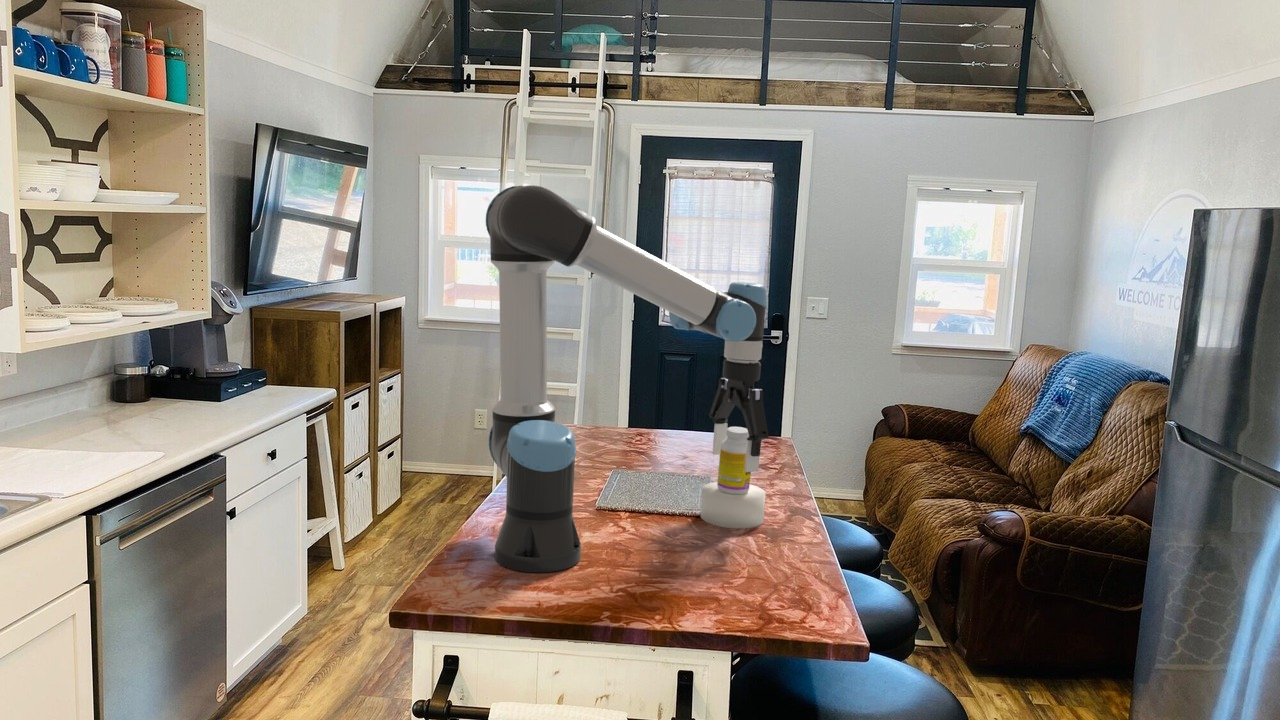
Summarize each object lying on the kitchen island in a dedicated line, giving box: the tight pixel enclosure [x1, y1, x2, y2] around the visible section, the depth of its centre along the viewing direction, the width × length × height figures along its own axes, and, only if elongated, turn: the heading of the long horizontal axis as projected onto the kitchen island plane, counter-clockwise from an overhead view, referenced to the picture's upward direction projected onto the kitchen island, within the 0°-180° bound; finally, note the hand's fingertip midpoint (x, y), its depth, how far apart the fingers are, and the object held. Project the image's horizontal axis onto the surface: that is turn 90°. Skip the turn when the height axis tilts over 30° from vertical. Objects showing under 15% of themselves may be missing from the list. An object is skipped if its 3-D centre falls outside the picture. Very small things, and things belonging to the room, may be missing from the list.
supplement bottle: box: [716, 426, 752, 494], centre depth 187 cm, size 7×7×13 cm
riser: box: [700, 481, 766, 529], centre depth 189 cm, size 13×13×6 cm
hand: (734, 462), depth 188 cm, fingers open, 13 cm apart
